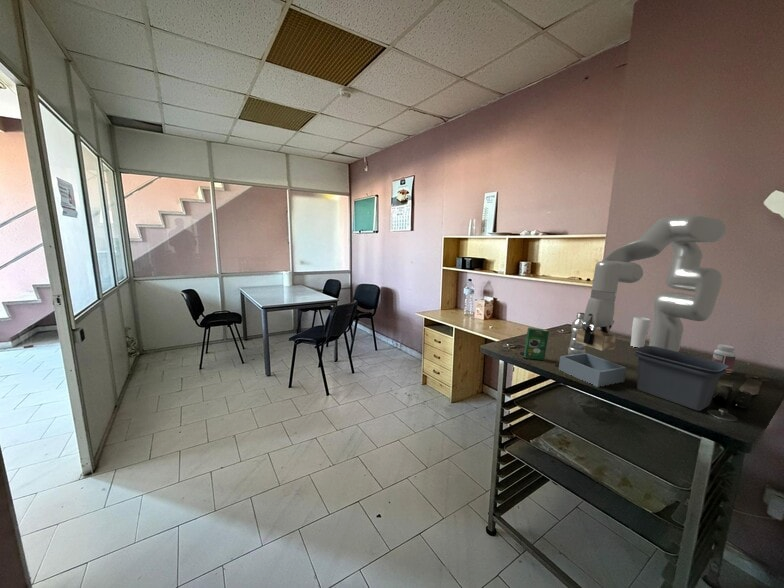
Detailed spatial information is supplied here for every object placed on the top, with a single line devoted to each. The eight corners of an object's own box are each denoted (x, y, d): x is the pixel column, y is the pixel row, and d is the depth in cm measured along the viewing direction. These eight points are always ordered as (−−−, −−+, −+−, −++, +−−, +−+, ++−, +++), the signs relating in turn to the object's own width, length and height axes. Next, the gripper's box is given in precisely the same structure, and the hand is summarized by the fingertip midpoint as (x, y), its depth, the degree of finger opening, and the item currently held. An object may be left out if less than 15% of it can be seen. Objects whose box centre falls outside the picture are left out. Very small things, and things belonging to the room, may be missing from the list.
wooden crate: (588, 340, 122) (590, 328, 122) (614, 349, 113) (616, 335, 112) (575, 342, 120) (577, 329, 119) (601, 350, 111) (604, 337, 110)
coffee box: (543, 358, 135) (547, 328, 132) (545, 360, 132) (549, 330, 130) (523, 356, 136) (527, 327, 134) (524, 358, 133) (528, 328, 131)
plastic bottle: (587, 361, 134) (595, 315, 130) (571, 360, 134) (578, 314, 130) (579, 355, 140) (585, 312, 137) (563, 355, 140) (570, 311, 137)
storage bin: (623, 387, 109) (631, 348, 107) (644, 379, 117) (651, 343, 115) (706, 418, 91) (717, 372, 89) (724, 407, 99) (734, 364, 97)
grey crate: (583, 365, 128) (585, 352, 127) (624, 381, 114) (626, 367, 113) (558, 369, 123) (560, 356, 122) (597, 387, 109) (600, 372, 108)
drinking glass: (646, 350, 152) (651, 320, 150) (628, 347, 156) (634, 318, 153) (644, 347, 158) (650, 318, 155) (627, 344, 162) (633, 315, 159)
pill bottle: (730, 371, 130) (736, 346, 128) (732, 376, 125) (739, 349, 123) (709, 367, 134) (714, 342, 132) (710, 371, 129) (716, 345, 127)
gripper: (608, 293, 120) (600, 338, 123) (576, 294, 113) (569, 341, 116) (629, 297, 113) (620, 344, 116) (597, 298, 107) (588, 348, 109)
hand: (595, 342), depth 116 cm, fingers closed on wooden crate, 7 cm apart
